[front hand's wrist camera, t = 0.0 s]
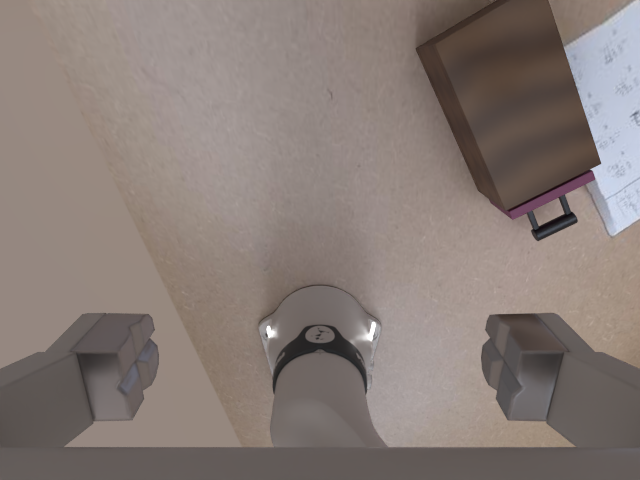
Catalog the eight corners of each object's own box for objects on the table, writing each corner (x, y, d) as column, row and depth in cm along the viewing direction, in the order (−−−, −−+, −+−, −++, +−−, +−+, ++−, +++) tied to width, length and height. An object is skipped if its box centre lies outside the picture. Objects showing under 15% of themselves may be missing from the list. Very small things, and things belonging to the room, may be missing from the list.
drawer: (576, 203, 58) (609, 220, 51) (505, 238, 60) (528, 258, 53) (513, 26, 50) (542, 19, 44) (433, 72, 52) (450, 72, 45)
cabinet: (559, 149, 56) (601, 163, 48) (478, 191, 58) (505, 211, 50) (504, -4, 50) (542, -20, 41) (415, 48, 52) (434, 44, 43)
